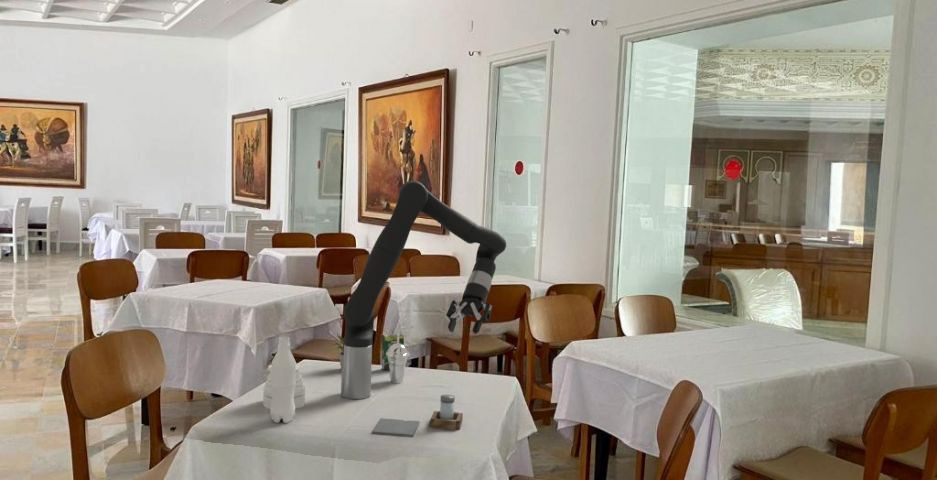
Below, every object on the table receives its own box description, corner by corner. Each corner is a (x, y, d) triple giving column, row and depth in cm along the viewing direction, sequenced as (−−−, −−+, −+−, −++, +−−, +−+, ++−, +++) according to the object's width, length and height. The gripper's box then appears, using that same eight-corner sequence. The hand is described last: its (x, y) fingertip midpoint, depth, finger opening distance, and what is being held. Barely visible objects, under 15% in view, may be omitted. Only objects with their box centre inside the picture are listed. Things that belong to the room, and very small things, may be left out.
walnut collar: (429, 427, 228) (430, 419, 228) (434, 418, 237) (434, 410, 236) (459, 429, 227) (459, 421, 227) (462, 420, 236) (462, 412, 236)
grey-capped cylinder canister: (438, 425, 230) (439, 398, 229) (440, 421, 234) (441, 394, 233) (452, 426, 230) (453, 399, 229) (454, 422, 234) (455, 395, 233)
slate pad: (371, 433, 221) (371, 431, 221) (380, 420, 233) (380, 418, 233) (412, 436, 220) (413, 434, 220) (419, 423, 232) (419, 421, 232)
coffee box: (383, 371, 289) (384, 336, 288) (380, 369, 292) (382, 335, 290) (403, 369, 292) (404, 335, 291) (401, 367, 295) (402, 334, 294)
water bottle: (288, 425, 224) (290, 341, 222) (265, 423, 226) (267, 339, 223) (298, 418, 231) (300, 336, 229) (276, 415, 233) (278, 334, 230)
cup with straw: (388, 377, 281) (389, 323, 279) (412, 379, 279) (414, 325, 278) (382, 383, 272) (384, 327, 270) (407, 385, 271) (409, 329, 269)
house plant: (323, 365, 293) (324, 322, 292) (358, 363, 299) (360, 321, 297) (331, 375, 280) (333, 330, 279) (368, 372, 286) (370, 329, 284)
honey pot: (255, 402, 244) (256, 346, 243) (289, 395, 254) (290, 341, 252) (278, 412, 236) (279, 354, 234) (312, 404, 245) (314, 348, 244)
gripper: (454, 280, 249) (437, 324, 241) (493, 282, 242) (478, 327, 234) (463, 293, 254) (447, 336, 246) (501, 295, 247) (487, 339, 239)
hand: (462, 331), depth 240 cm, fingers open, 8 cm apart
